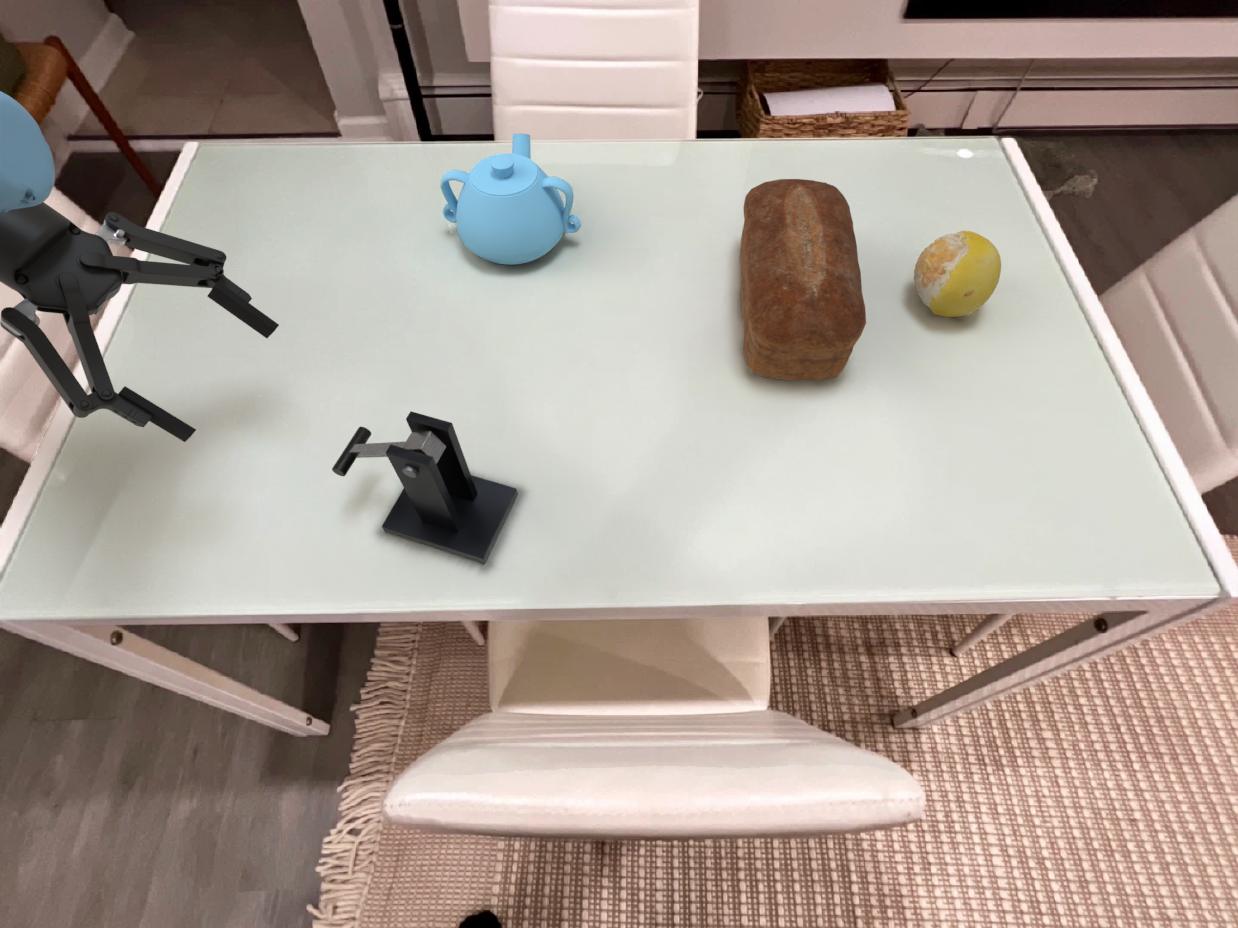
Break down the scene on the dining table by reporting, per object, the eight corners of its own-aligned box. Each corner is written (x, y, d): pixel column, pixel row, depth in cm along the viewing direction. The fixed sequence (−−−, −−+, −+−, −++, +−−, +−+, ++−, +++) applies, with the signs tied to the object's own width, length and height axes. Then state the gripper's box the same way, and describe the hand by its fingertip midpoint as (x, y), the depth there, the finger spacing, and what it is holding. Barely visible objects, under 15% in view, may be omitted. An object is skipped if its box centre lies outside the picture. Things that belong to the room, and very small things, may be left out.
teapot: (434, 269, 99) (411, 192, 88) (469, 180, 109) (452, 101, 99) (573, 281, 97) (566, 204, 87) (594, 189, 108) (591, 110, 97)
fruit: (966, 273, 97) (999, 213, 89) (990, 331, 92) (1026, 273, 83) (893, 275, 97) (918, 215, 89) (911, 333, 92) (940, 275, 83)
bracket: (384, 532, 77) (337, 459, 64) (422, 465, 81) (385, 385, 69) (485, 564, 75) (456, 494, 62) (518, 494, 79) (497, 416, 67)
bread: (829, 239, 101) (852, 162, 91) (851, 394, 86) (881, 324, 76) (732, 235, 102) (744, 159, 92) (737, 389, 87) (751, 318, 77)
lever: (342, 479, 73) (325, 465, 71) (368, 437, 76) (353, 423, 74) (428, 478, 66) (412, 463, 64) (454, 432, 69) (439, 417, 67)
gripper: (93, 158, 68) (291, 306, 78) (-127, 345, 55) (143, 492, 65) (103, 116, 62) (315, 280, 72) (-138, 312, 50) (158, 478, 60)
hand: (234, 381), depth 69 cm, fingers open, 13 cm apart
